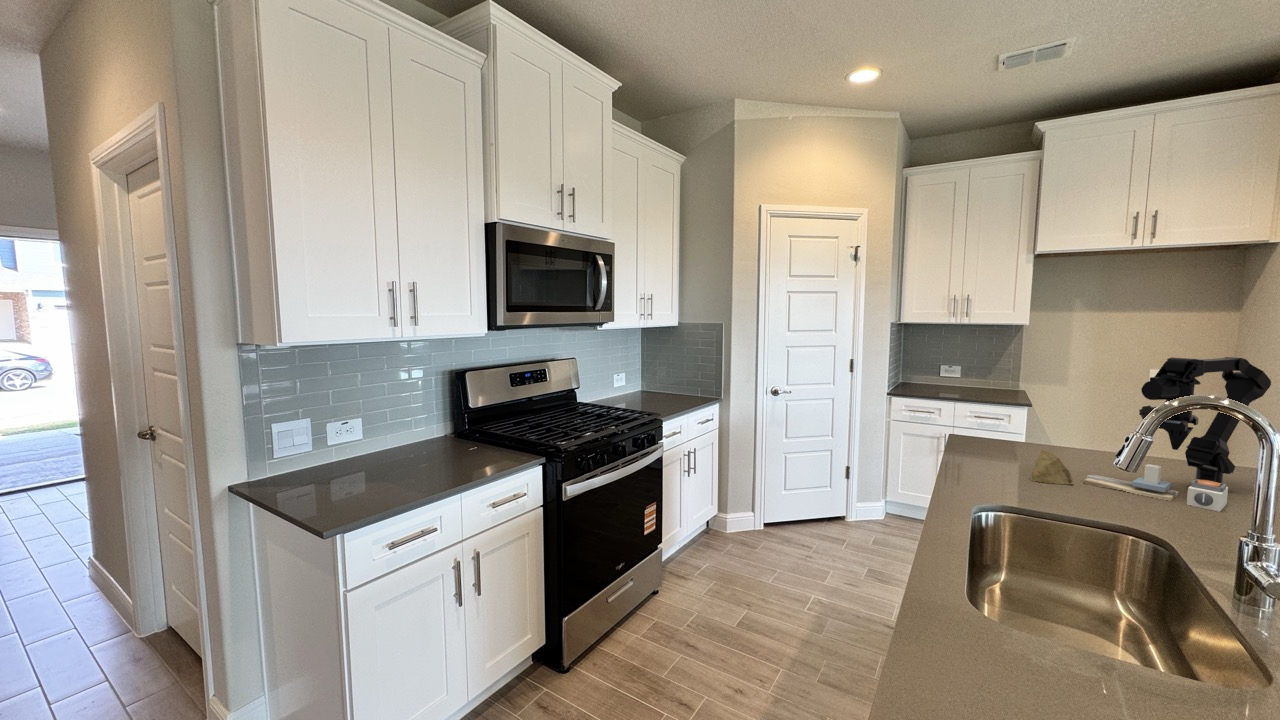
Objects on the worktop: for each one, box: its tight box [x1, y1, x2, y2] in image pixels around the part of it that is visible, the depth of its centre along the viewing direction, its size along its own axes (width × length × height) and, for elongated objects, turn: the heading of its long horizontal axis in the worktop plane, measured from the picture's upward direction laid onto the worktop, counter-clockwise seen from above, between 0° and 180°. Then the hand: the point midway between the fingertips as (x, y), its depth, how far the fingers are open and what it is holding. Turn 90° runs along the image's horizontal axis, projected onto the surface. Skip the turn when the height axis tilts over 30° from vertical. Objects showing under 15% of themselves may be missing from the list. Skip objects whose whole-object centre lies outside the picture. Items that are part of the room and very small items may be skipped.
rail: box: [1082, 474, 1180, 502], centre depth 162 cm, size 10×20×2 cm, turn 34°
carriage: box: [1132, 463, 1172, 492], centre depth 157 cm, size 8×7×6 cm
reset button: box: [1197, 480, 1220, 487], centre depth 148 cm, size 4×4×1 cm
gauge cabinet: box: [1186, 478, 1229, 513], centre depth 148 cm, size 10×6×6 cm, turn 124°
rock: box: [1030, 450, 1074, 485], centre depth 167 cm, size 11×9×10 cm
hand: (1175, 449), depth 158 cm, fingers closed
